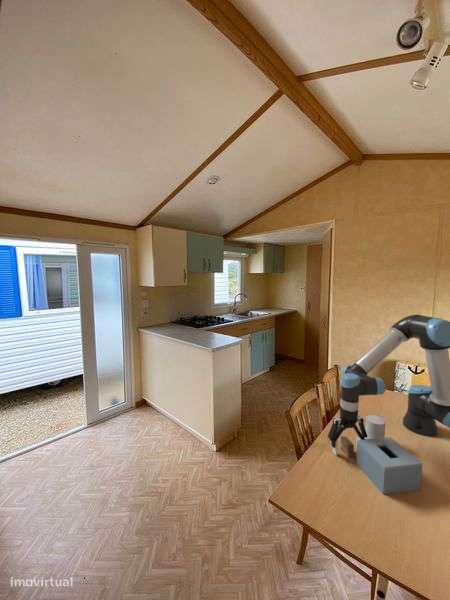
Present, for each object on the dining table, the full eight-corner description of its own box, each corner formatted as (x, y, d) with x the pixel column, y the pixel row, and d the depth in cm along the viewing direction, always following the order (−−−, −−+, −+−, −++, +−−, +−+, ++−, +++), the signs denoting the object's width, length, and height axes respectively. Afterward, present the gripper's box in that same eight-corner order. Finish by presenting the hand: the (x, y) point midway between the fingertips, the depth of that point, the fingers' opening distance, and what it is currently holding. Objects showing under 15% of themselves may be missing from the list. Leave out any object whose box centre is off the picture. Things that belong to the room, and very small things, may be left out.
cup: (386, 448, 122) (388, 425, 121) (368, 446, 124) (369, 423, 123) (380, 438, 130) (381, 415, 129) (362, 436, 132) (364, 414, 131)
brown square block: (345, 448, 123) (345, 436, 122) (353, 457, 117) (353, 444, 116) (340, 448, 123) (341, 436, 122) (348, 457, 117) (348, 445, 116)
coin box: (389, 460, 115) (390, 437, 114) (420, 489, 99) (422, 463, 98) (356, 463, 113) (357, 440, 112) (382, 494, 97) (384, 467, 96)
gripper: (366, 402, 123) (364, 444, 125) (320, 405, 120) (319, 449, 122) (378, 410, 115) (375, 455, 118) (329, 414, 112) (327, 460, 115)
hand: (346, 452), depth 120 cm, fingers open, 11 cm apart
